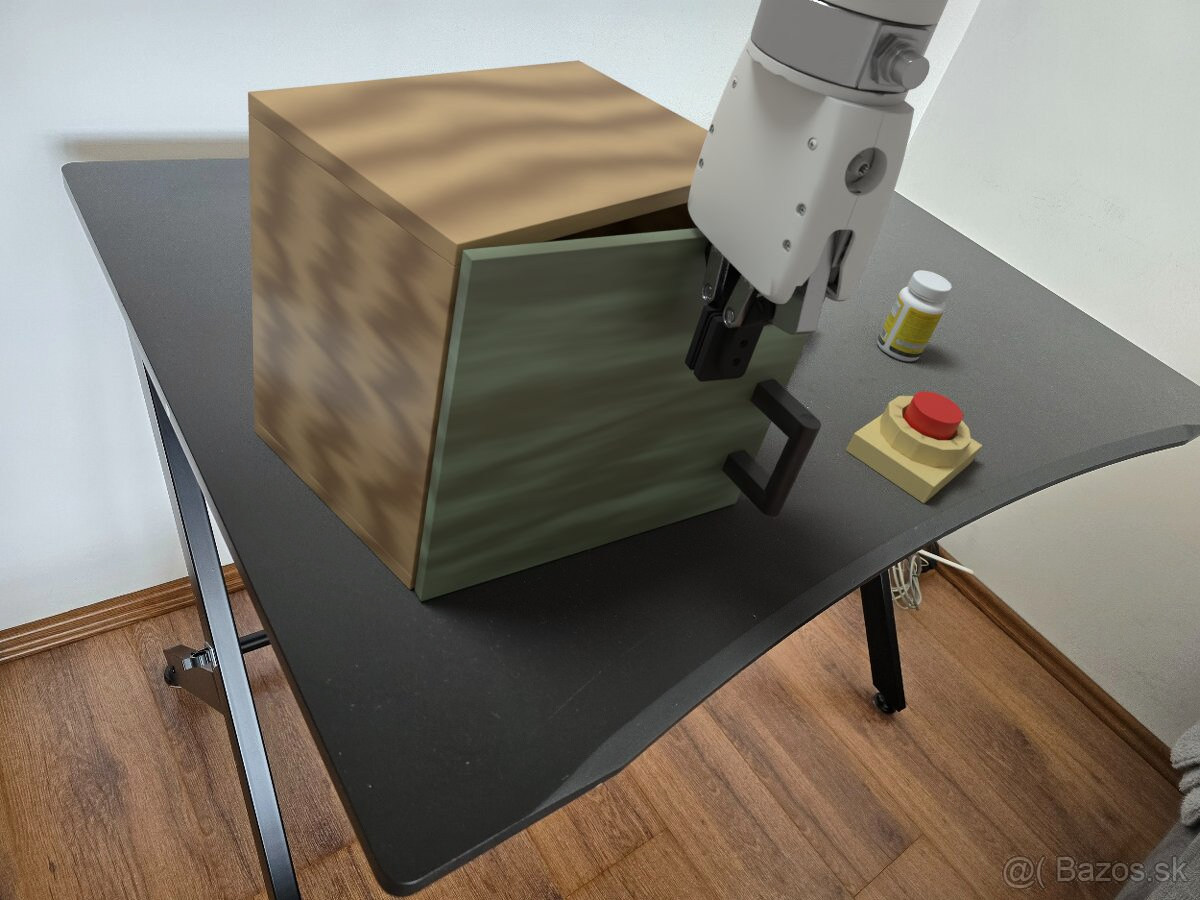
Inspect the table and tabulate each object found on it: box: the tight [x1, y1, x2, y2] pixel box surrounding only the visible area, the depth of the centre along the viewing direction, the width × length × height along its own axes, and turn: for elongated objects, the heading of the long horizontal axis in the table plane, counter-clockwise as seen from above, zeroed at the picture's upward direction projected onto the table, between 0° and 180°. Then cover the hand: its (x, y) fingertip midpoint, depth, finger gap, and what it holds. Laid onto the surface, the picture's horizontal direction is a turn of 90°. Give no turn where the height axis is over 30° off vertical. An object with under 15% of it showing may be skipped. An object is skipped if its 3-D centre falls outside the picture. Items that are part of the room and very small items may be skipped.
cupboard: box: [247, 60, 709, 590], centre depth 62 cm, size 18×26×24 cm
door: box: [414, 228, 827, 602], centre depth 55 cm, size 6×26×24 cm, turn 123°
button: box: [904, 390, 964, 440], centre depth 79 cm, size 4×4×2 cm
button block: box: [845, 395, 983, 504], centre depth 80 cm, size 10×8×4 cm
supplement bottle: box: [876, 269, 953, 362], centre depth 94 cm, size 5×5×8 cm
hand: (713, 371), depth 52 cm, fingers closed
